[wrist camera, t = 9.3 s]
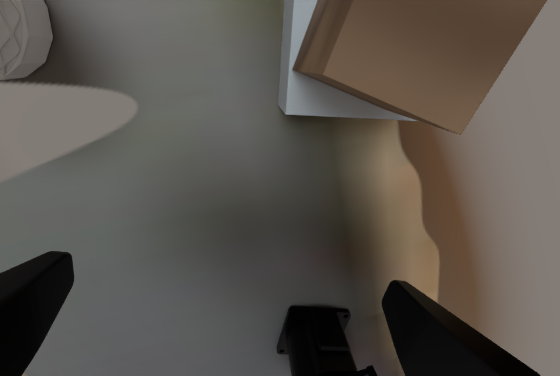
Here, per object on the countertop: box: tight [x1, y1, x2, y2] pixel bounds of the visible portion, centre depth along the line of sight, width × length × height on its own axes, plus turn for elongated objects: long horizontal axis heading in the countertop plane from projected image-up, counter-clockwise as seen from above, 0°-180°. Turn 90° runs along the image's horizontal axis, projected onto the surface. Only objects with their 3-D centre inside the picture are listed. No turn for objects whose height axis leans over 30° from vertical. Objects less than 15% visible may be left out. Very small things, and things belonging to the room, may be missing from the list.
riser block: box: [278, 0, 417, 121], centre depth 16 cm, size 8×8×4 cm
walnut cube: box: [292, 0, 547, 135], centre depth 11 cm, size 6×6×6 cm
